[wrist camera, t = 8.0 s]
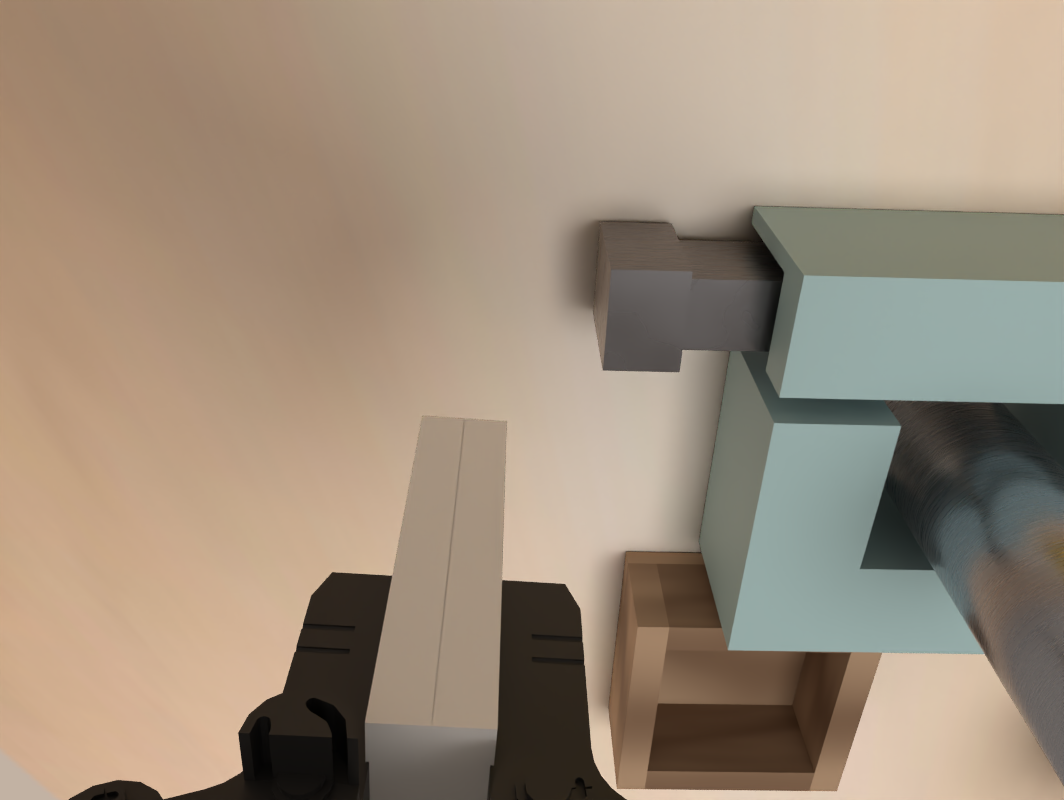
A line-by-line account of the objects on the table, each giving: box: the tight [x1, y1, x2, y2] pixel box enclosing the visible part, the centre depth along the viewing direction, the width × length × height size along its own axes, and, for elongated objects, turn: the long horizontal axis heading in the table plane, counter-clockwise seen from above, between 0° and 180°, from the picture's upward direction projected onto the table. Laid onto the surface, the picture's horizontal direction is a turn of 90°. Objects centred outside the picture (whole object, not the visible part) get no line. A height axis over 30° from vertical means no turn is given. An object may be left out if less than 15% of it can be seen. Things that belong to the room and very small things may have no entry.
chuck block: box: [699, 206, 1064, 654], centre depth 25 cm, size 12×12×5 cm
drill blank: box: [884, 400, 1064, 785], centre depth 21 cm, size 4×4×16 cm
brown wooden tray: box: [609, 552, 882, 791], centre depth 31 cm, size 8×8×4 cm
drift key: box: [593, 222, 784, 372], centre depth 24 cm, size 3×10×4 cm, turn 88°
